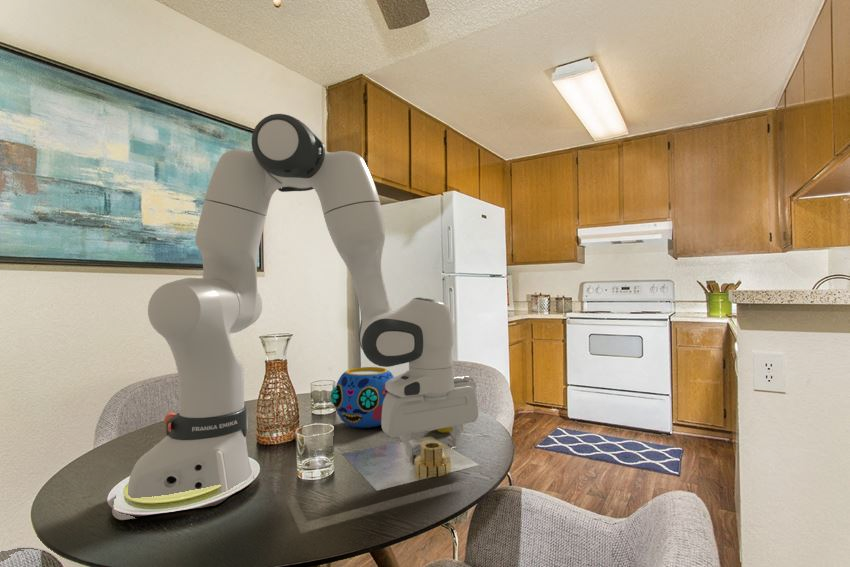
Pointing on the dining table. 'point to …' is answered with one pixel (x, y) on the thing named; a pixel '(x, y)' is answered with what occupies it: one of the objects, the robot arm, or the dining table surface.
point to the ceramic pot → (361, 396)
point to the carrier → (398, 463)
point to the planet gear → (432, 460)
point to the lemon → (445, 429)
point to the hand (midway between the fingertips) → (432, 451)
